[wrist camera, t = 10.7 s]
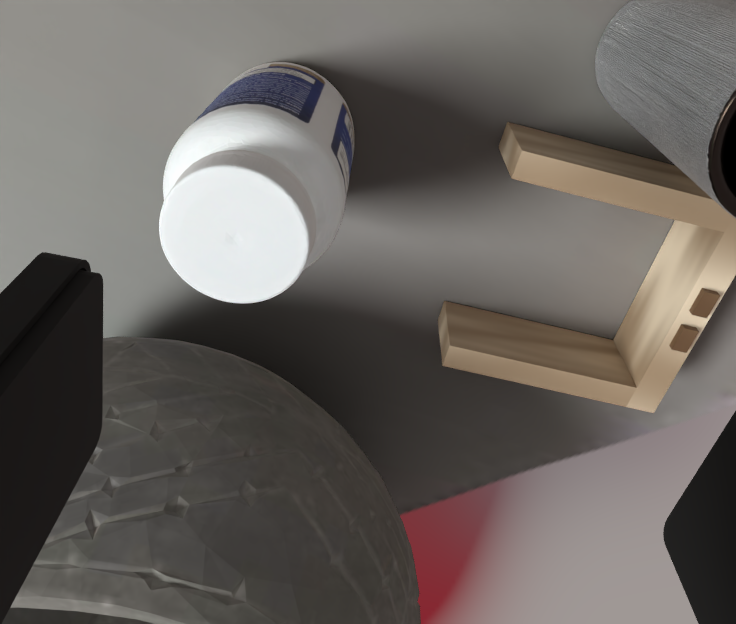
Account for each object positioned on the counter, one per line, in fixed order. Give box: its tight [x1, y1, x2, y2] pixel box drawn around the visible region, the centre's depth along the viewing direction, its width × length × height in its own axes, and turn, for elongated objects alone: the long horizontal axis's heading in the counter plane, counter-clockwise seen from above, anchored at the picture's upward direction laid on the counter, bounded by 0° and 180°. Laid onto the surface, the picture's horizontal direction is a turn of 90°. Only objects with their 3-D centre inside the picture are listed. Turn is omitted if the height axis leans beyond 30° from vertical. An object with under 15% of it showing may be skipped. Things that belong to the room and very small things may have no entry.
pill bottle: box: [159, 62, 355, 303], centre depth 22 cm, size 5×5×10 cm
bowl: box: [2, 337, 421, 624], centre depth 28 cm, size 21×21×15 cm
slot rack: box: [438, 122, 736, 413], centre depth 25 cm, size 17×9×4 cm, turn 166°
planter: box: [595, 0, 736, 218], centre depth 20 cm, size 4×4×10 cm
